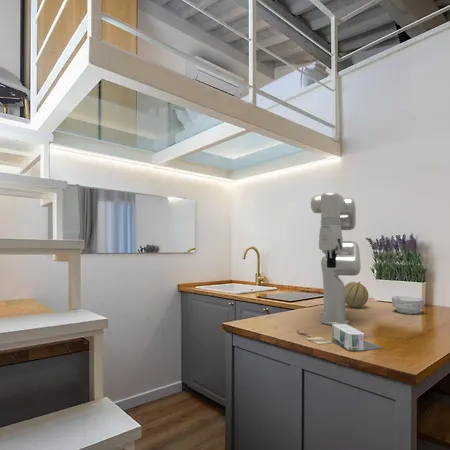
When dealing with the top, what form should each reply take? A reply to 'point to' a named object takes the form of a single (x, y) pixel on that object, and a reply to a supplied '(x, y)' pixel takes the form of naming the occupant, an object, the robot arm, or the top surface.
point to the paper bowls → (407, 304)
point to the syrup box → (348, 336)
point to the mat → (366, 346)
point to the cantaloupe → (355, 294)
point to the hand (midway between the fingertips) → (331, 267)
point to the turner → (314, 338)
